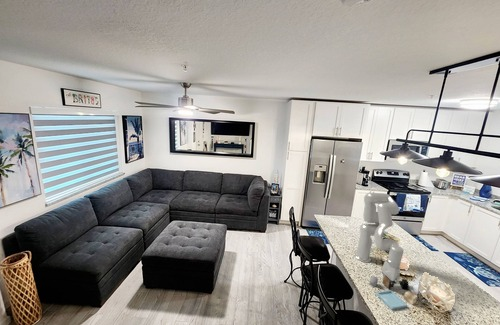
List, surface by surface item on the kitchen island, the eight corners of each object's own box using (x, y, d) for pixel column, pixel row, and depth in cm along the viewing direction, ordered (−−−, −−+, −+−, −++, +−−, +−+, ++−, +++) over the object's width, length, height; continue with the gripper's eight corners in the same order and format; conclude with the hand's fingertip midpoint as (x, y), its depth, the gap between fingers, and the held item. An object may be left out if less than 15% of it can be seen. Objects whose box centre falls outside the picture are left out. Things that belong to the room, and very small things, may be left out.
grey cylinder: (368, 282, 151) (369, 276, 150) (373, 281, 152) (374, 276, 151) (372, 287, 147) (374, 281, 146) (378, 286, 148) (379, 280, 147)
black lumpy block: (395, 279, 157) (397, 273, 156) (407, 282, 155) (408, 276, 154) (401, 291, 146) (402, 285, 145) (413, 294, 143) (415, 288, 143)
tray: (376, 294, 141) (376, 292, 140) (390, 292, 143) (391, 290, 143) (391, 310, 129) (391, 307, 129) (406, 307, 132) (407, 305, 132)
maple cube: (403, 299, 138) (404, 292, 137) (407, 296, 141) (408, 290, 140) (411, 305, 134) (413, 298, 133) (415, 302, 136) (417, 296, 135)
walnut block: (382, 282, 150) (384, 275, 149) (387, 282, 151) (389, 275, 150) (387, 287, 146) (389, 280, 144) (392, 287, 147) (394, 280, 145)
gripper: (379, 255, 151) (374, 276, 155) (399, 272, 135) (393, 295, 139) (387, 254, 153) (382, 274, 157) (409, 271, 137) (402, 293, 141)
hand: (387, 284), depth 148 cm, fingers closed on walnut block, 4 cm apart
